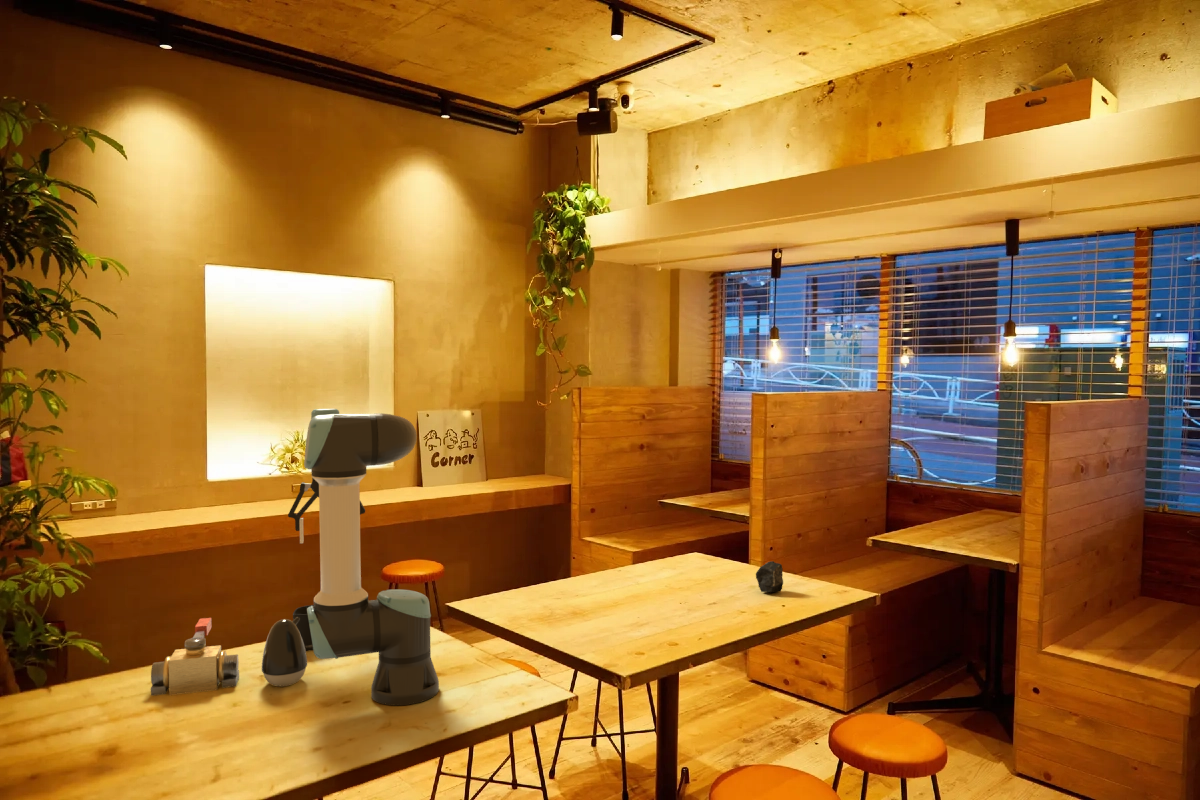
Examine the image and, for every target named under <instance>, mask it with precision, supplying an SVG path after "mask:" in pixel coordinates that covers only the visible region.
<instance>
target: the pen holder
mask: <svg viewBox="0 0 1200 800" xmlns="http://www.w3.org/2000/svg"><path fill="white" fill-rule="evenodd" d="M310 606H314V604H310V605H303V606H300V607H297V608H295V609H294V611H293V613H292V621H293V620H294V619H295V618H296V617H299V618H300V620H299V622H298V623H297V624H296V626H297V628H298V630H299V632H300V634H301V636H302V639H303V642H304V646H305V650H306V652H311V651H313V652H314V650H313V644H312V638H311V632H310V625H309V619H308V613H307V608H308V607H310Z"/></svg>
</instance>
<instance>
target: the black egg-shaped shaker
mask: <svg viewBox="0 0 1200 800" xmlns="http://www.w3.org/2000/svg"><path fill="white" fill-rule="evenodd" d="M299 620H300V618H299V617H296V618H295V619H294V620H293V619H292V620H291V619H287V618H283V619H280V620H277V621H276V622H275V623H274V624H273V625H272V626H271V628H270V630H269V633H268V634H267V638H266V641H265V644H264V648H263V653H262V658H261V672H262V674H263V677H264V678H265V680H266V681H267V682H268V684H270V685H272V686H275V687H288V686H291V685H294V684H296V683H297V682H299V681H300V680H301V679H302V678H303V676H304V674H305V671H306V668H307V666H308V656H307V651H306V650H305V646H304V642H303V639H302V636H301V634H300V632H299V630H298V628H297V626H296V624H297V623H298V622H299Z"/></svg>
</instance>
